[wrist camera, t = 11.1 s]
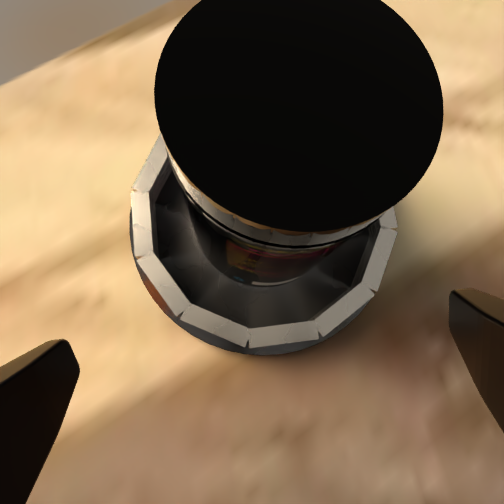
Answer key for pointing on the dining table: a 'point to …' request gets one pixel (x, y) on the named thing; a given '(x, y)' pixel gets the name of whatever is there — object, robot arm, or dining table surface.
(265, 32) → the supplement container
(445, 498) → the dining table surface
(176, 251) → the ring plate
